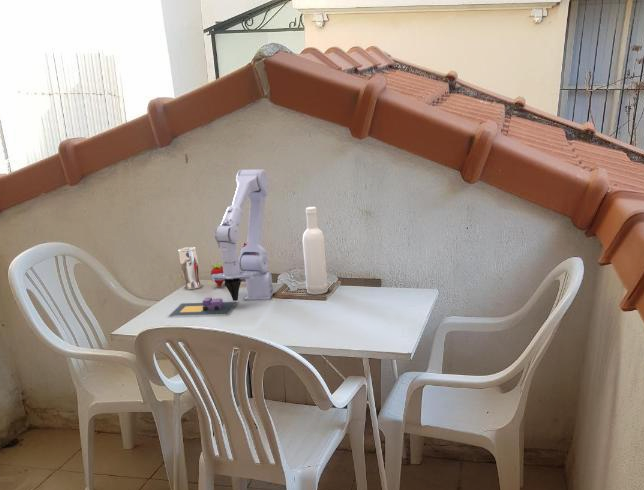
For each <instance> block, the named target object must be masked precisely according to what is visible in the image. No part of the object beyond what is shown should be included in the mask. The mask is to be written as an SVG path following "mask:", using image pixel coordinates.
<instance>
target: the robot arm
mask: <svg viewBox="0 0 644 490" xmlns="http://www.w3.org/2000/svg"><path fill="white" fill-rule="evenodd" d="M269 179H270V178H269V176H268V173H267V172H266V170H265V169H264V168H259V169H243V168H242V169H238V171H237V173H236V177H235V182H236V183H235V184H236V190H235V194H234V196H233V200H232V204H231V205H229V206H227V208H226V211H225V213H224V216H223V219H222V220H221V223H220V225H218V226H217V227H215V229H214V239H215V241H216V243H217V248H218V249H219V251H220V258H221V265H222V266H223V273H220V274H212V275H211V274H210V277H211V282H215V280H224V282H223V284H224V286H225V287H226V289H227V290H228V293H229V294H230V297H231V299H232V302H238V300H239V292H240V287H241V283H242V280H245V286H246V294H247V295H246V296H245V297H244V300H266V299H267V300H268V299H271V297H272V296H273V294H274V293H275V292H274V286H273V277H272V273H271V272H268V268H269V257H268V255H269V253H268V251H267V250H266V249H265V248H264V247H263V246H262V245H263V244H262V243H263V232H264V218H265V207H266V197H267V196H268V193H269ZM248 199H249V201H250V202H249V216H248V225H247V226H248V227H247V238H246V239H247V241H246V245H244V246H243V247H242V248H241V249H240V254H239V253H238V252H239V251H238V245H237V242H238V241H239V239H240V238H239V237H240V225H241V222H242V220H243V216H244V213H243V208H244V206H245V203H246V202H247V200H248Z"/></svg>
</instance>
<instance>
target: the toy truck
mask: <svg viewBox="0 0 644 490" xmlns="http://www.w3.org/2000/svg"><path fill="white" fill-rule="evenodd" d="M223 302H224V301H223V298H213V297H205V298H203V300H202V303H203V306H202V307H203V310H205V311H206V310H220V309H221V308H222V307H223Z"/></svg>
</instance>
